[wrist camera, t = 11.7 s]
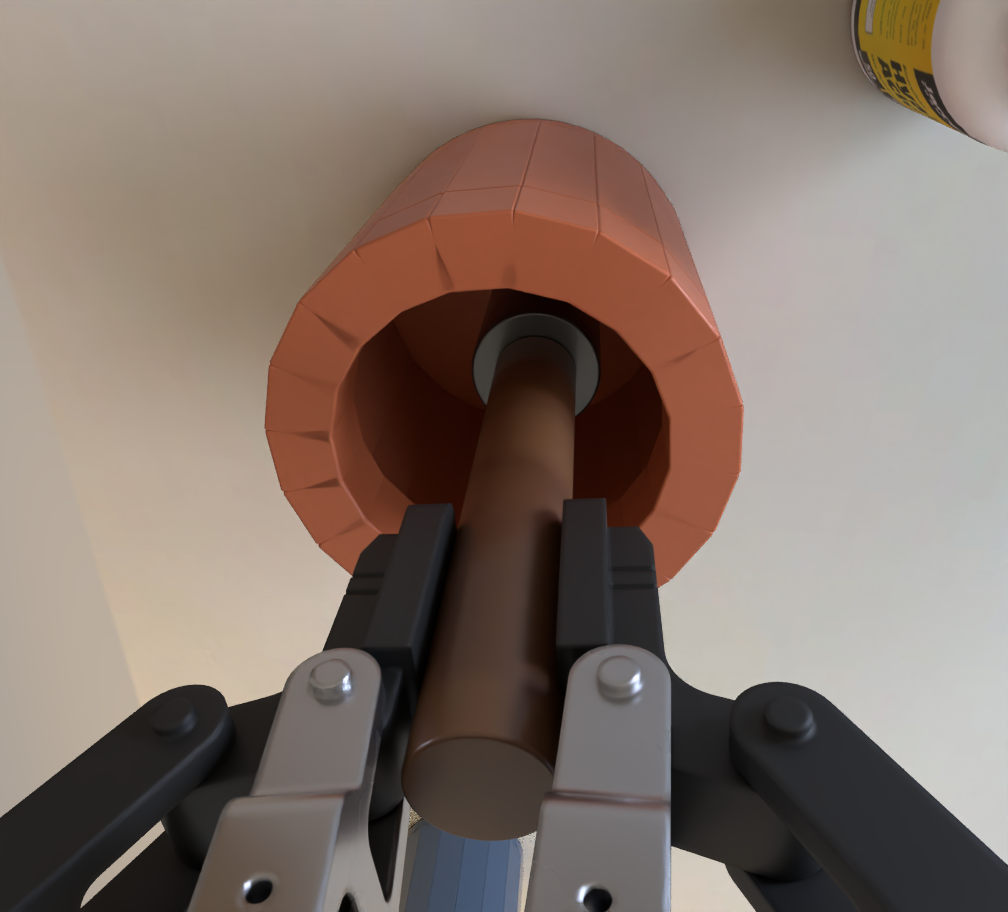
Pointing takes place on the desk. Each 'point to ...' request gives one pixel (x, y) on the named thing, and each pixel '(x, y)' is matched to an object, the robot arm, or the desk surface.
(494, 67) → the desk surface
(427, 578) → the robot arm
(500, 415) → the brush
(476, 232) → the jar
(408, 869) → the brush cup
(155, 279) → the desk surface
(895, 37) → the supplement bottle
